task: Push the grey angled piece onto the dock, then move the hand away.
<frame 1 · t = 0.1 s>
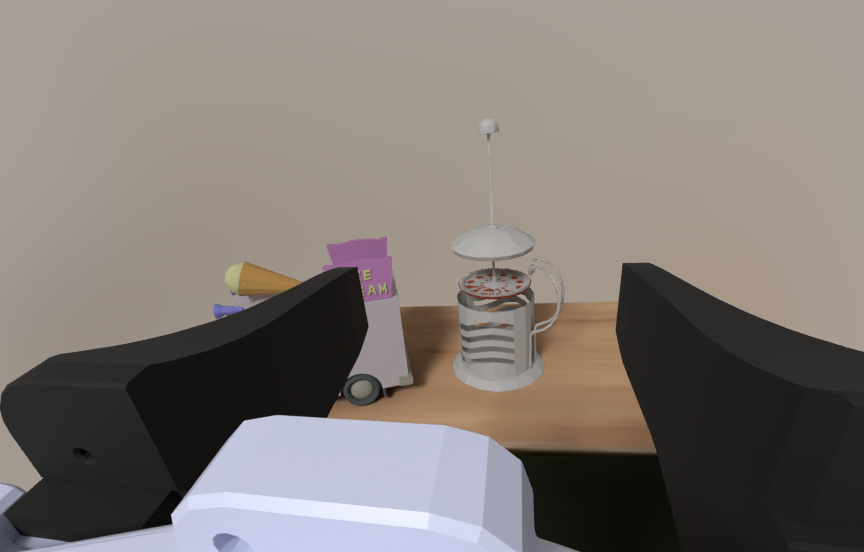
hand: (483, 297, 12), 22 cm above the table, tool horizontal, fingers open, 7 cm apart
toy vehicle: (318, 394, 45), on the table
french press: (505, 366, 46), on the table
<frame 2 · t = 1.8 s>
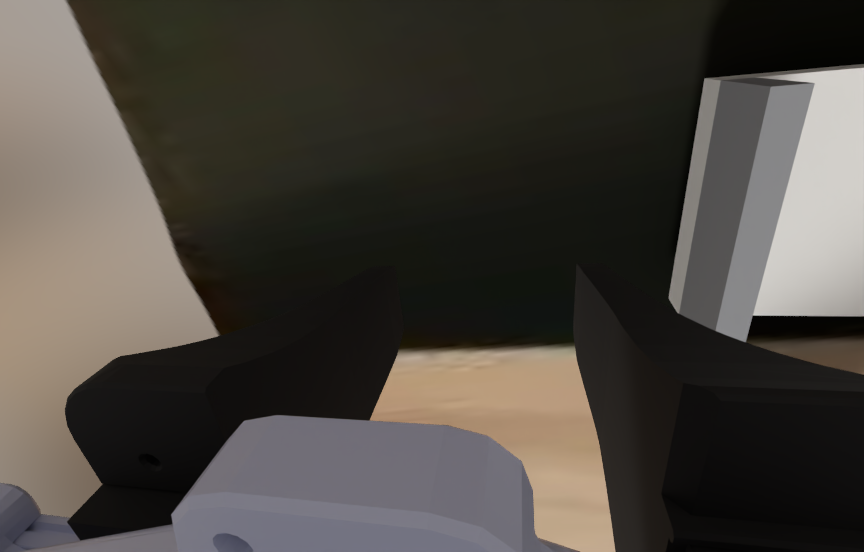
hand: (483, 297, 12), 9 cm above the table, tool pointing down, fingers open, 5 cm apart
grey angled piece: (806, 184, 18), on the table
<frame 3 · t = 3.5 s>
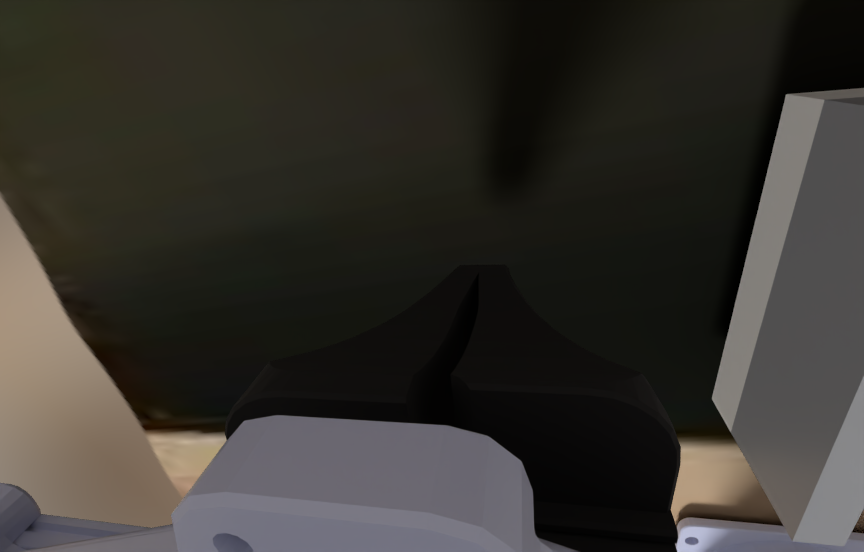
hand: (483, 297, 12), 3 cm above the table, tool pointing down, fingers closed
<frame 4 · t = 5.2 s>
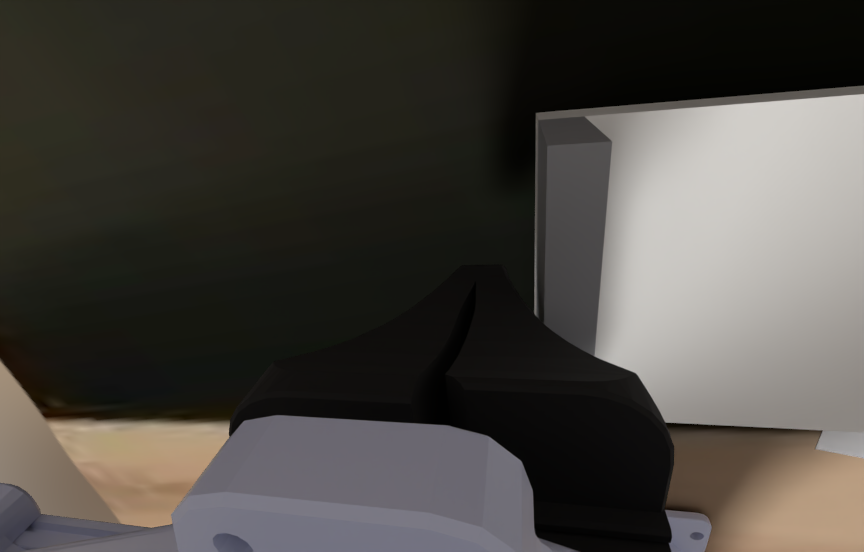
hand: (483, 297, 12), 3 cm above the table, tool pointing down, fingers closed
grey angled piece: (698, 246, 13), on the table, touching gripper
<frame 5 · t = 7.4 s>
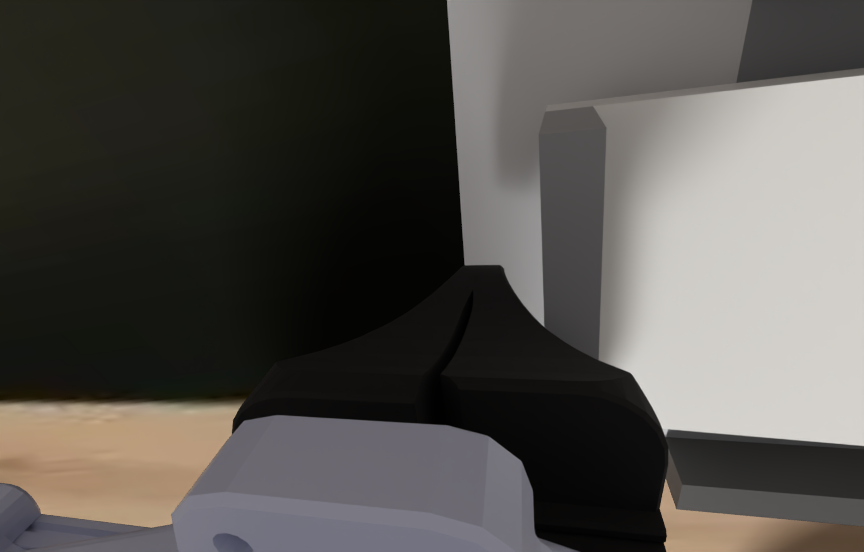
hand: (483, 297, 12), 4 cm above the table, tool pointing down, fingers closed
dock: (824, 240, 13), on the table
grey angled piece: (730, 244, 13), point 1 cm above the table, touching dock, gripper
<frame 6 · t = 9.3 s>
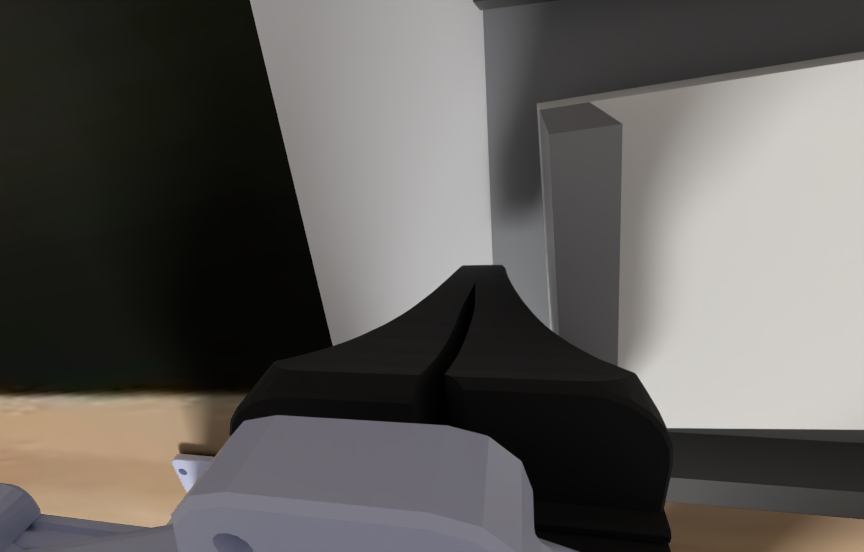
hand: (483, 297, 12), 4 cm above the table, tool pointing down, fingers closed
dock: (612, 240, 15), on the table
grey angled piece: (723, 235, 12), point 1 cm above the table, touching dock, gripper
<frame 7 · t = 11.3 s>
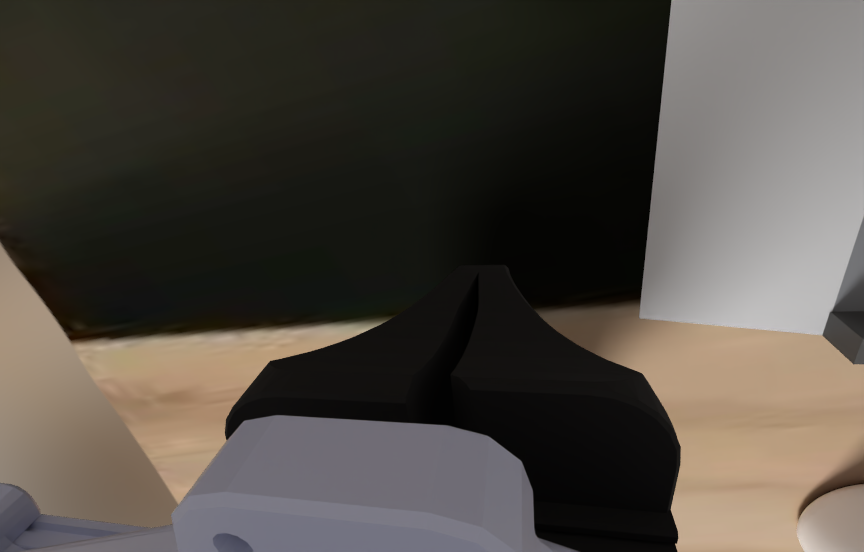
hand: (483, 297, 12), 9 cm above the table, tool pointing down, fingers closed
water bottle: (860, 515, 25), on the table
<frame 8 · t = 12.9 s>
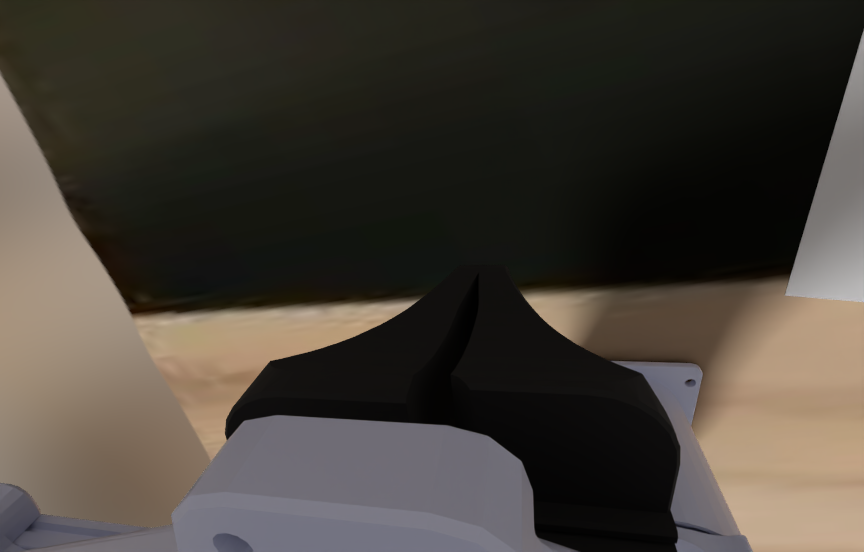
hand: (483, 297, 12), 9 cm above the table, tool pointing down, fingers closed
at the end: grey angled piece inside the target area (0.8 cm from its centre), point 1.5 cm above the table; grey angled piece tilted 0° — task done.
